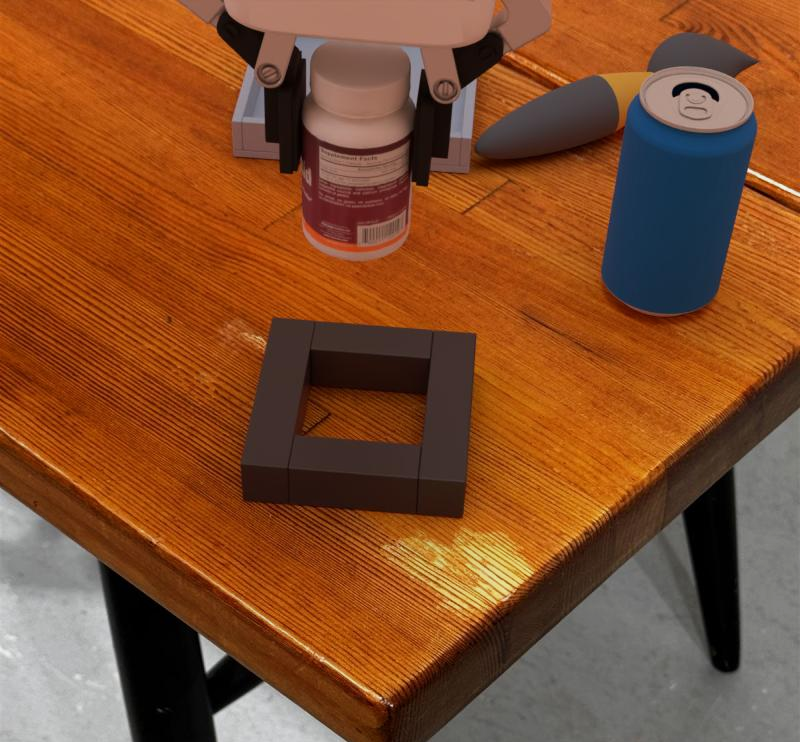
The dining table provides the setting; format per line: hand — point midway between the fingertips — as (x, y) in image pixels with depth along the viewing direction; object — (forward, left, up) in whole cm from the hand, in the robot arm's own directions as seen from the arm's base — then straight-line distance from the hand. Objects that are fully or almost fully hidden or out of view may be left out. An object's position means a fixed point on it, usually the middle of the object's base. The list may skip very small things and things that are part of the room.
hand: (357, 157), depth 61 cm
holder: (0, -1, -16) cm, 16 cm away
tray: (-3, +29, -16) cm, 33 cm away
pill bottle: (0, 0, -4) cm, 4 cm away
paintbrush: (+13, +27, -16) cm, 34 cm away
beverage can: (+15, +12, -16) cm, 25 cm away
